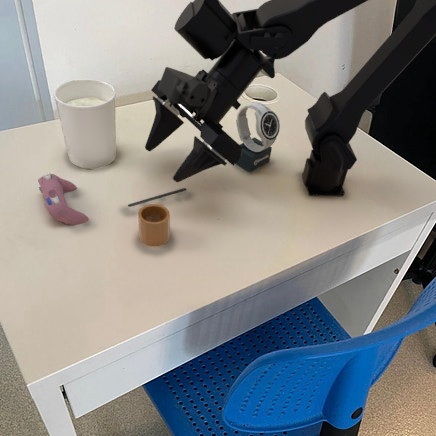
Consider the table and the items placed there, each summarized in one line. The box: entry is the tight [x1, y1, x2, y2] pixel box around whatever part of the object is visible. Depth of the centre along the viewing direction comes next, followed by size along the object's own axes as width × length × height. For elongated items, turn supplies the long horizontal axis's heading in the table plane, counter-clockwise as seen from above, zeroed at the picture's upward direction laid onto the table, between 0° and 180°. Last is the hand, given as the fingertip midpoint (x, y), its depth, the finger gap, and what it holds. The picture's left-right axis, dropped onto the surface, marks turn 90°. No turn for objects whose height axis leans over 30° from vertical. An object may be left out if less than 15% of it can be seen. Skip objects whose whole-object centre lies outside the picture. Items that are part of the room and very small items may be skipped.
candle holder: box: [53, 78, 117, 170], centre depth 85 cm, size 10×10×12 cm
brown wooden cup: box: [137, 203, 171, 248], centre depth 73 cm, size 4×4×6 cm
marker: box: [127, 187, 187, 208], centre depth 81 cm, size 6×1×10 cm
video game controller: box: [37, 173, 90, 226], centre depth 76 cm, size 10×5×7 cm, turn 23°
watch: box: [235, 101, 281, 173], centre depth 88 cm, size 6×8×11 cm
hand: (160, 164), depth 76 cm, fingers open, 9 cm apart
